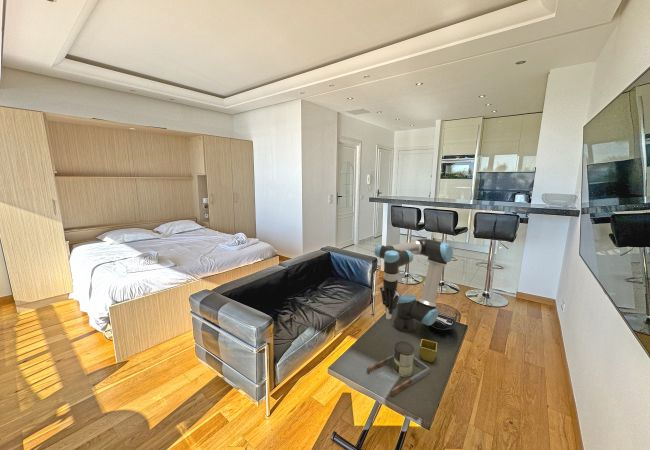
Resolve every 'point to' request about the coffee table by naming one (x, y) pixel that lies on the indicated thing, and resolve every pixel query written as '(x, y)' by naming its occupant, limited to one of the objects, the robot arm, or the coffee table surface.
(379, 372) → the coffee table surface
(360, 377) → the coffee table surface
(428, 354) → the flower pot
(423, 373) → the grey piece
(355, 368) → the coffee table surface
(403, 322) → the robot arm
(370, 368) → the slot rails
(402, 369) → the coffee can
